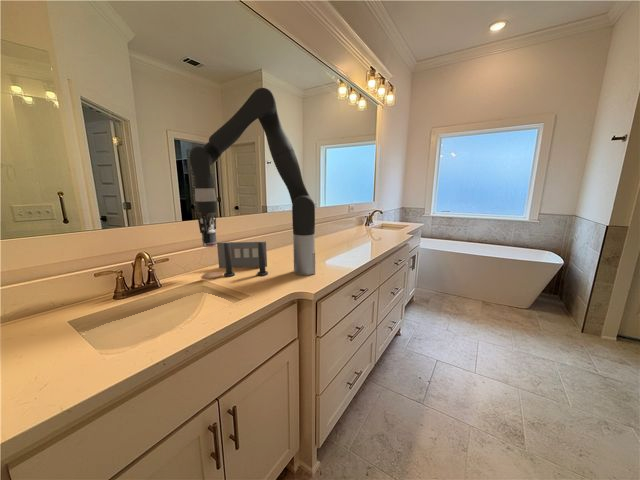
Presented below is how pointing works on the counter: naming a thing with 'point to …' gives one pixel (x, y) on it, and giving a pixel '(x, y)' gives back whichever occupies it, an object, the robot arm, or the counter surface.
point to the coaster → (212, 275)
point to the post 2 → (262, 260)
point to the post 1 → (228, 261)
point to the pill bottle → (212, 238)
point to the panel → (241, 254)
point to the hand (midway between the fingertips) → (209, 241)
